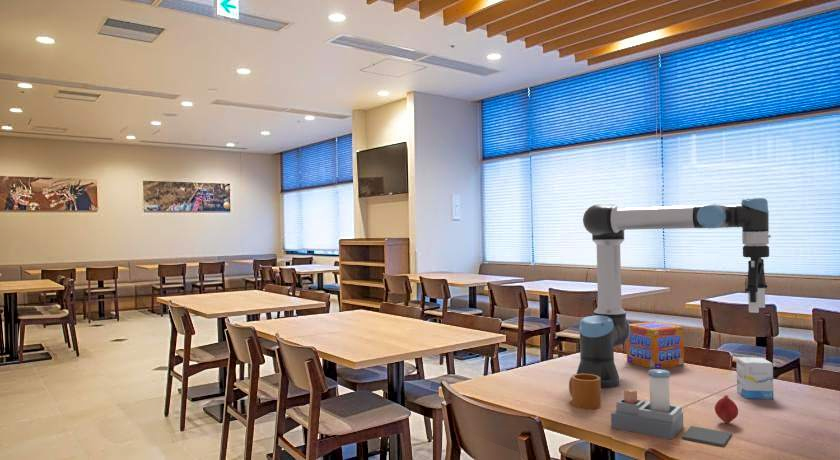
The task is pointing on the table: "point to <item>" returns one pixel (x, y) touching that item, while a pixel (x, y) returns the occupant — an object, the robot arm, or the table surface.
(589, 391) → the mug
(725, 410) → the onion
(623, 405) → the box
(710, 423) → the table surface
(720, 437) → the pad
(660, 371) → the cylinder
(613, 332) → the robot arm
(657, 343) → the game box
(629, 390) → the salmon orange cube
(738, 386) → the ink box
